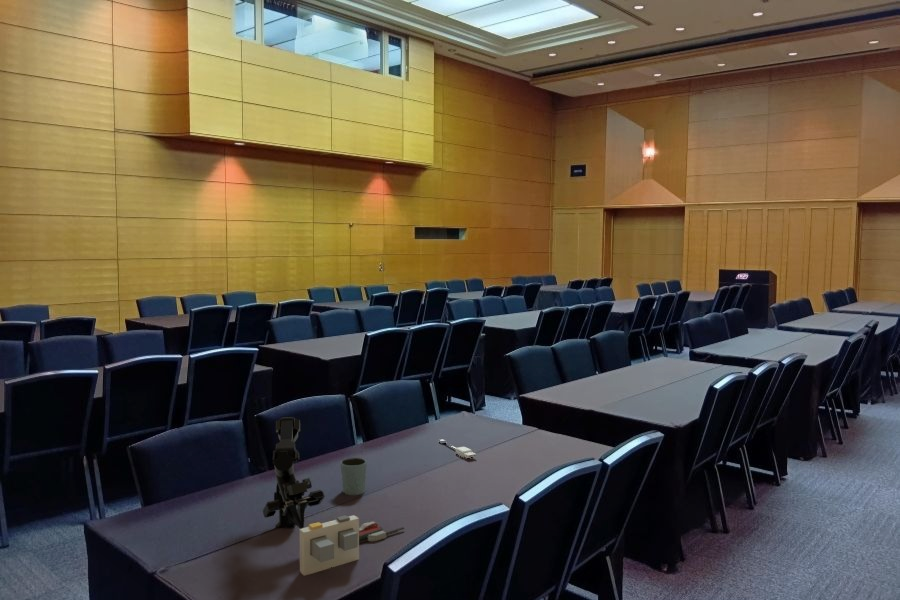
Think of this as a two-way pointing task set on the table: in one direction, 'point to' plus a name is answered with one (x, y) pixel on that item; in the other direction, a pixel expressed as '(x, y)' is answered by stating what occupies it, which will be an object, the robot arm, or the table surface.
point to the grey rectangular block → (322, 548)
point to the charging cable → (463, 451)
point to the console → (331, 532)
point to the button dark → (347, 539)
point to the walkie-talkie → (373, 532)
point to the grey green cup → (353, 475)
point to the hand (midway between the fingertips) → (302, 528)
